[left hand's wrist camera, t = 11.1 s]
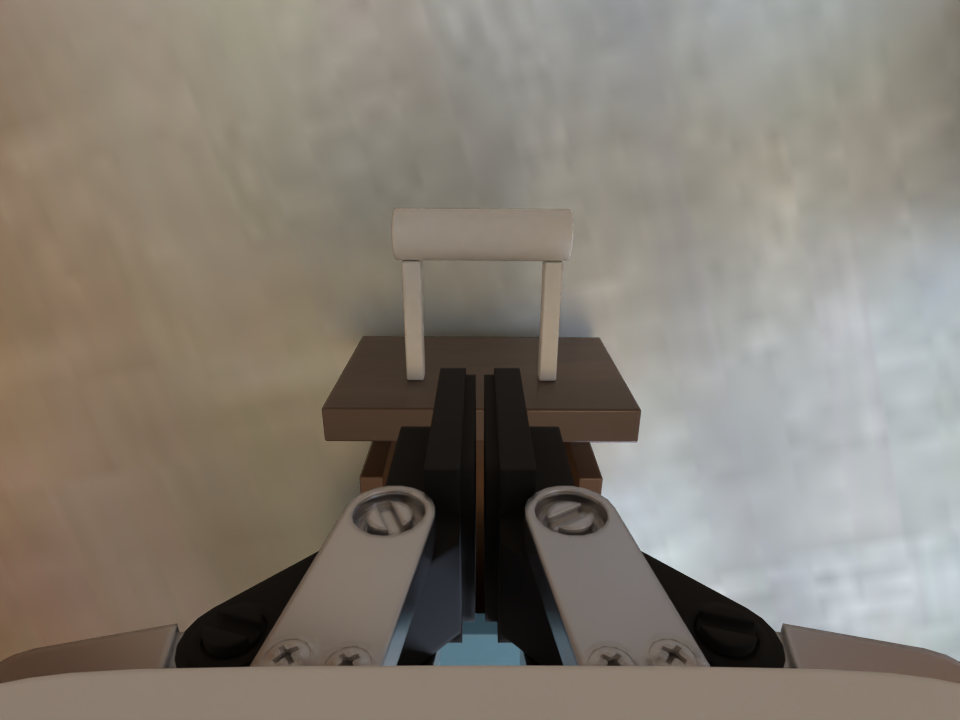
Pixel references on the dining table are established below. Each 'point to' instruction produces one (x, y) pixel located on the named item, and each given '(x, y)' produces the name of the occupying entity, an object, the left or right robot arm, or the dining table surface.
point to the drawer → (481, 354)
